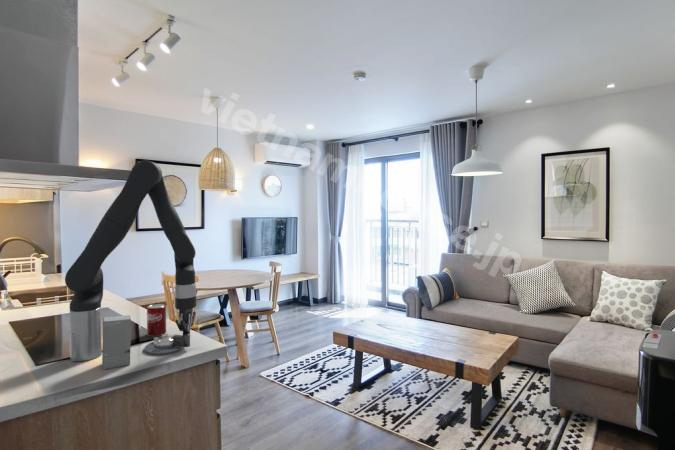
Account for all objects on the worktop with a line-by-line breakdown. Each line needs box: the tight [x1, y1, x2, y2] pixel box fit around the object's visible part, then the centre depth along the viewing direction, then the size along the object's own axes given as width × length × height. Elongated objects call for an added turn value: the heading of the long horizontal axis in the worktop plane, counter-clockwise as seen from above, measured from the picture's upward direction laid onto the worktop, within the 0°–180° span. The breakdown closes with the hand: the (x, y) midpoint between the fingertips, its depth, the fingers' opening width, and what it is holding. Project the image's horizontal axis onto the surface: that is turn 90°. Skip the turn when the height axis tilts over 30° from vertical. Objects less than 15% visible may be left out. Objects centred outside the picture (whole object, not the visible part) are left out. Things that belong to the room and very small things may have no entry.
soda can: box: [146, 303, 167, 338], centre depth 158 cm, size 7×7×12 cm
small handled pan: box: [153, 333, 191, 349], centre depth 142 cm, size 14×8×5 cm, turn 73°
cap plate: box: [144, 341, 186, 356], centre depth 143 cm, size 14×14×1 cm
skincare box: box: [101, 315, 132, 370], centre depth 128 cm, size 8×7×16 cm
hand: (186, 340), depth 144 cm, fingers closed
